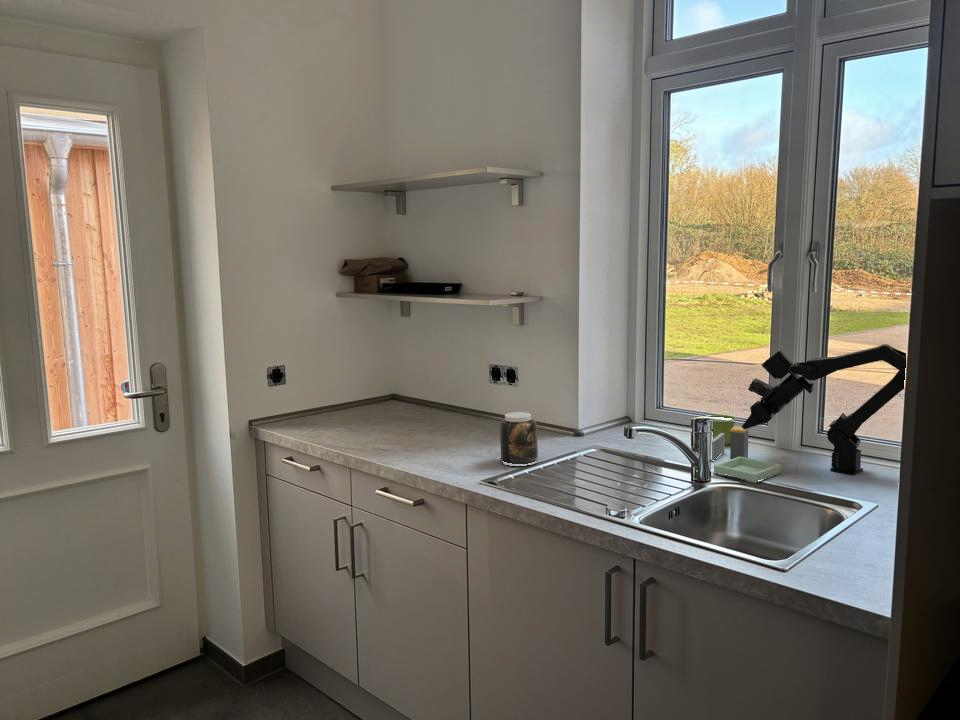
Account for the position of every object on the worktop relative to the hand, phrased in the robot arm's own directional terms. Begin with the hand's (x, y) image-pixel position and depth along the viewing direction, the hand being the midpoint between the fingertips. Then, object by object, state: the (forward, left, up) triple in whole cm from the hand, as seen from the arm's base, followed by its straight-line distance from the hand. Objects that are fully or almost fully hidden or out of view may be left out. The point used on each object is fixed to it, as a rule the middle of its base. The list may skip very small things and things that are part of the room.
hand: (746, 424), depth 223 cm
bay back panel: (+8, +3, -11) cm, 14 cm away
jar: (+48, +49, -11) cm, 69 cm away
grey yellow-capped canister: (+2, +1, -11) cm, 11 cm away
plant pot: (+16, -11, -11) cm, 22 cm away
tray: (-8, +13, -11) cm, 18 cm away
